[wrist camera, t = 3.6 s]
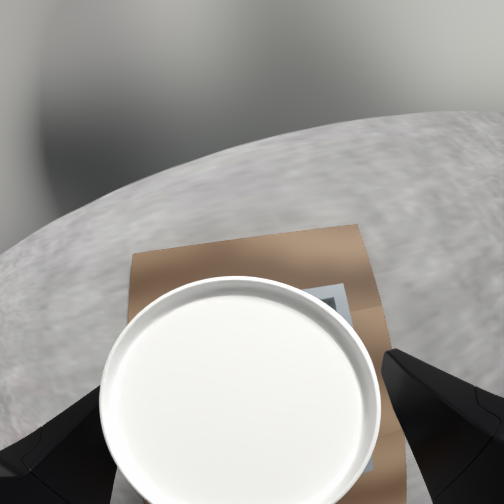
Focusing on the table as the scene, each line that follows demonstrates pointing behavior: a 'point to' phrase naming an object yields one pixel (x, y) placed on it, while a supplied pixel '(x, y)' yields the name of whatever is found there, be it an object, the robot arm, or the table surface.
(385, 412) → the brown slab
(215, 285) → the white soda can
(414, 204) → the table surface
